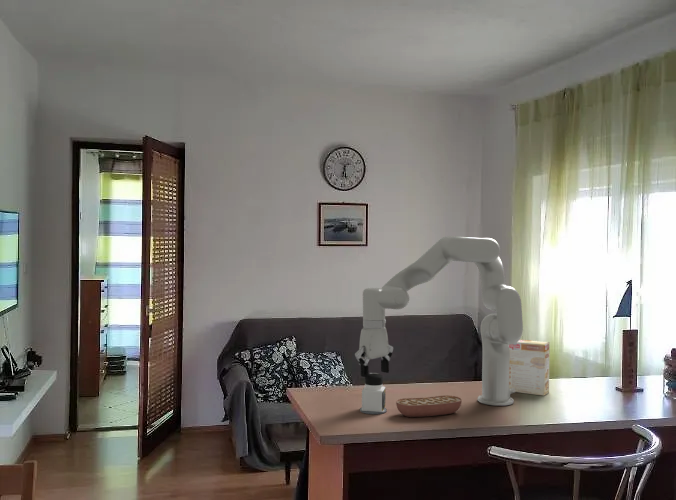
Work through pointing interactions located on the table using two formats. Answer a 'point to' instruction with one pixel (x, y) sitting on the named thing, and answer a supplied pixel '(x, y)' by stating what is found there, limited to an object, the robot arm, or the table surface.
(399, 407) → the oval dish
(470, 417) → the table surface
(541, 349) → the coffeecake box
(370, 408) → the medicine bottle
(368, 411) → the coaster
